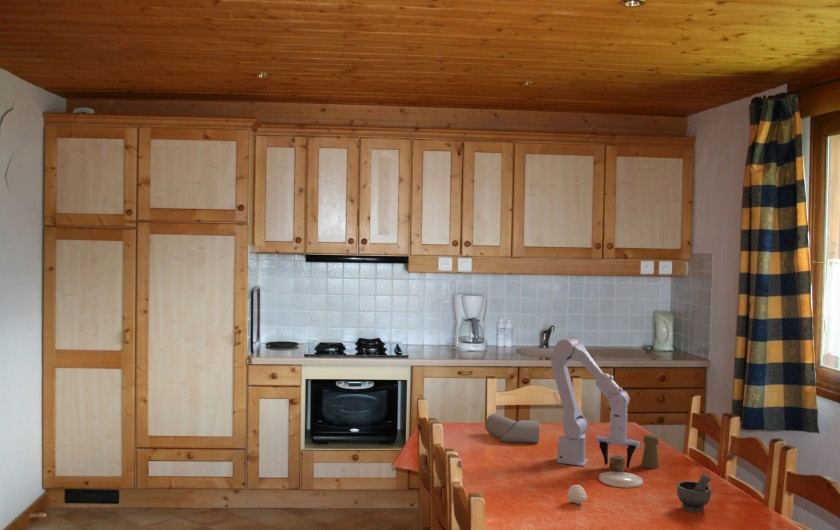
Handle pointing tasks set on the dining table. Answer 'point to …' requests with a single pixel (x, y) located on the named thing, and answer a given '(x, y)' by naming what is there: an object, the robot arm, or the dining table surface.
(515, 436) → the bent grey cylinder
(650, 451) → the pepper mill
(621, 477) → the plate
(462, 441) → the dining table surface
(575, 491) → the garlic bulb
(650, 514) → the dining table surface
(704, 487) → the mortar and pestle
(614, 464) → the walnut cube
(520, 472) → the dining table surface
